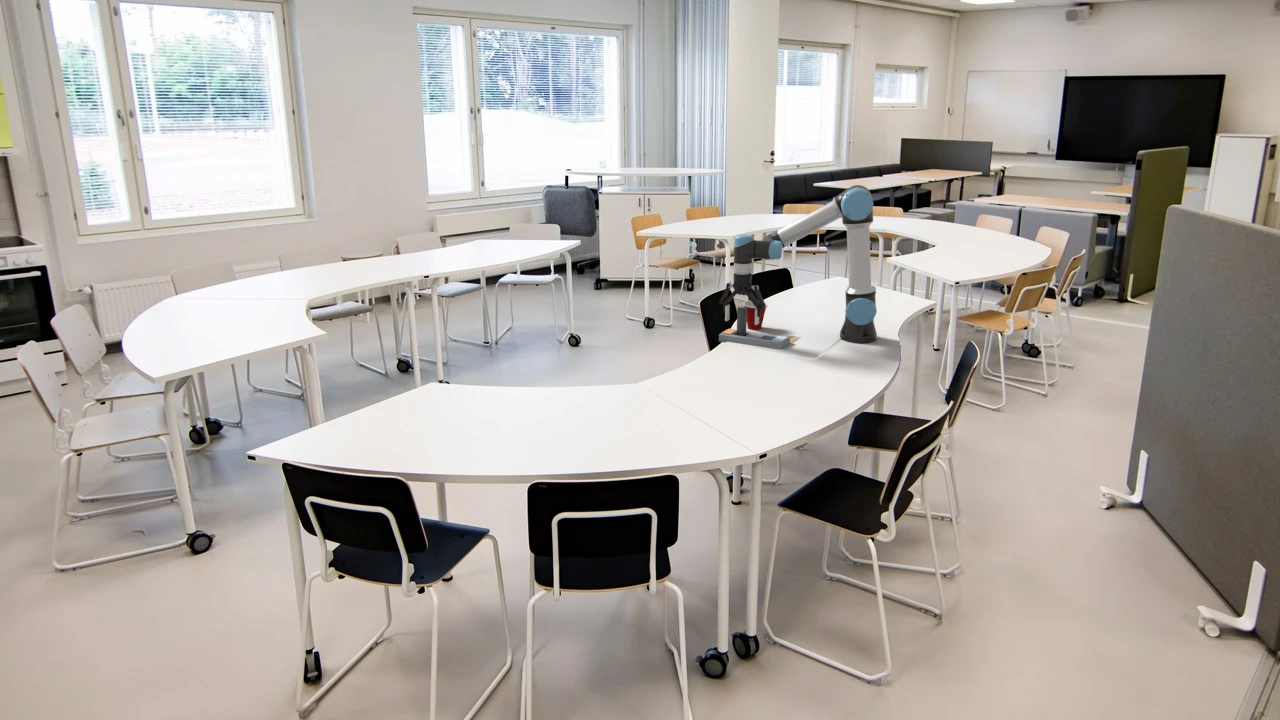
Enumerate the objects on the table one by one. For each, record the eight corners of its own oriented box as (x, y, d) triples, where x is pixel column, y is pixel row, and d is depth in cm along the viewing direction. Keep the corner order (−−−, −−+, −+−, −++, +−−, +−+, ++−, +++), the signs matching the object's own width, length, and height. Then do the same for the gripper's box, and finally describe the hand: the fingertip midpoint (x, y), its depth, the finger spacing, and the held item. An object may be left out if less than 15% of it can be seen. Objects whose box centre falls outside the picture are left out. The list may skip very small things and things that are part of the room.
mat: (800, 338, 351) (800, 337, 351) (792, 344, 343) (792, 343, 343) (778, 335, 356) (778, 334, 356) (769, 341, 348) (769, 339, 348)
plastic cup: (758, 334, 359) (759, 307, 355) (737, 330, 365) (738, 303, 362) (771, 328, 367) (772, 302, 363) (751, 324, 373) (751, 298, 369)
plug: (747, 339, 350) (748, 307, 346) (743, 341, 347) (744, 309, 343) (738, 338, 352) (739, 306, 348) (734, 340, 349) (735, 308, 345)
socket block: (790, 344, 344) (790, 336, 343) (780, 350, 336) (781, 342, 334) (729, 335, 357) (729, 327, 356) (718, 341, 349) (719, 333, 348)
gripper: (774, 273, 337) (773, 323, 344) (719, 268, 350) (719, 316, 356) (767, 277, 331) (766, 327, 338) (711, 271, 344) (711, 320, 350)
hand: (741, 322), depth 347 cm, fingers open, 13 cm apart
